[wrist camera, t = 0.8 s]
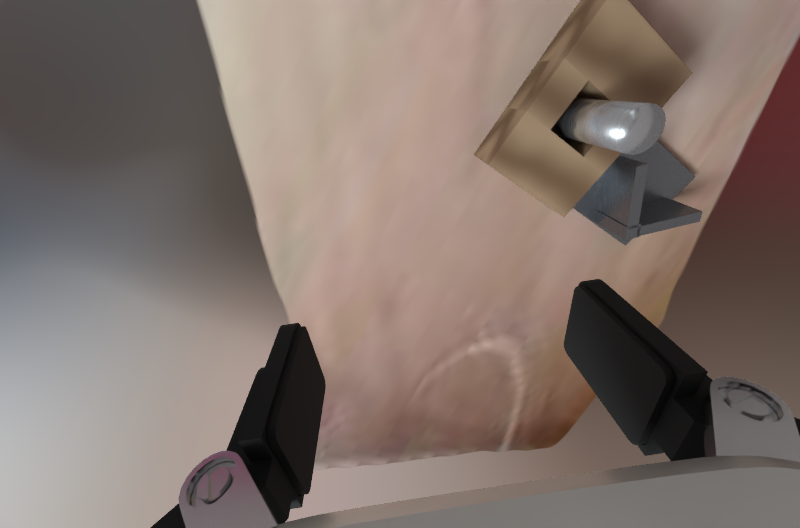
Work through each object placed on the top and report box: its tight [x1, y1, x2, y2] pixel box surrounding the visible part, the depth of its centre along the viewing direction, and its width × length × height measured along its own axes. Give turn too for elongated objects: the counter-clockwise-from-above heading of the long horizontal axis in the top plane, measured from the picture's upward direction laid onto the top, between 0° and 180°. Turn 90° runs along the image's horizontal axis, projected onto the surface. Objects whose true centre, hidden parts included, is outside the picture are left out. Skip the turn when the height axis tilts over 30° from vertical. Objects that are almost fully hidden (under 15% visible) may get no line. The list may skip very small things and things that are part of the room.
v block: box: [573, 141, 702, 245], centre depth 36 cm, size 12×10×6 cm
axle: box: [551, 98, 665, 155], centre depth 29 cm, size 4×4×12 cm
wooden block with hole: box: [474, 0, 692, 217], centre depth 32 cm, size 16×11×5 cm
